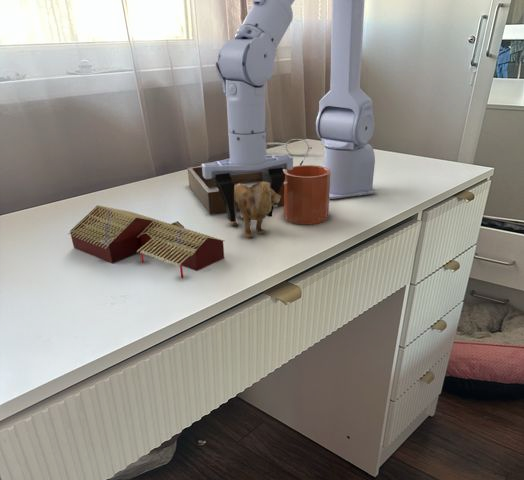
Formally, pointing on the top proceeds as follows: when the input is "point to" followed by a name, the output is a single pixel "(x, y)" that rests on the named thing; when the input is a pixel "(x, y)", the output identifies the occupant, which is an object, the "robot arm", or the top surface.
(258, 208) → the lion figurine
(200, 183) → the wooden frame
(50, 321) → the top surface
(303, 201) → the cup
